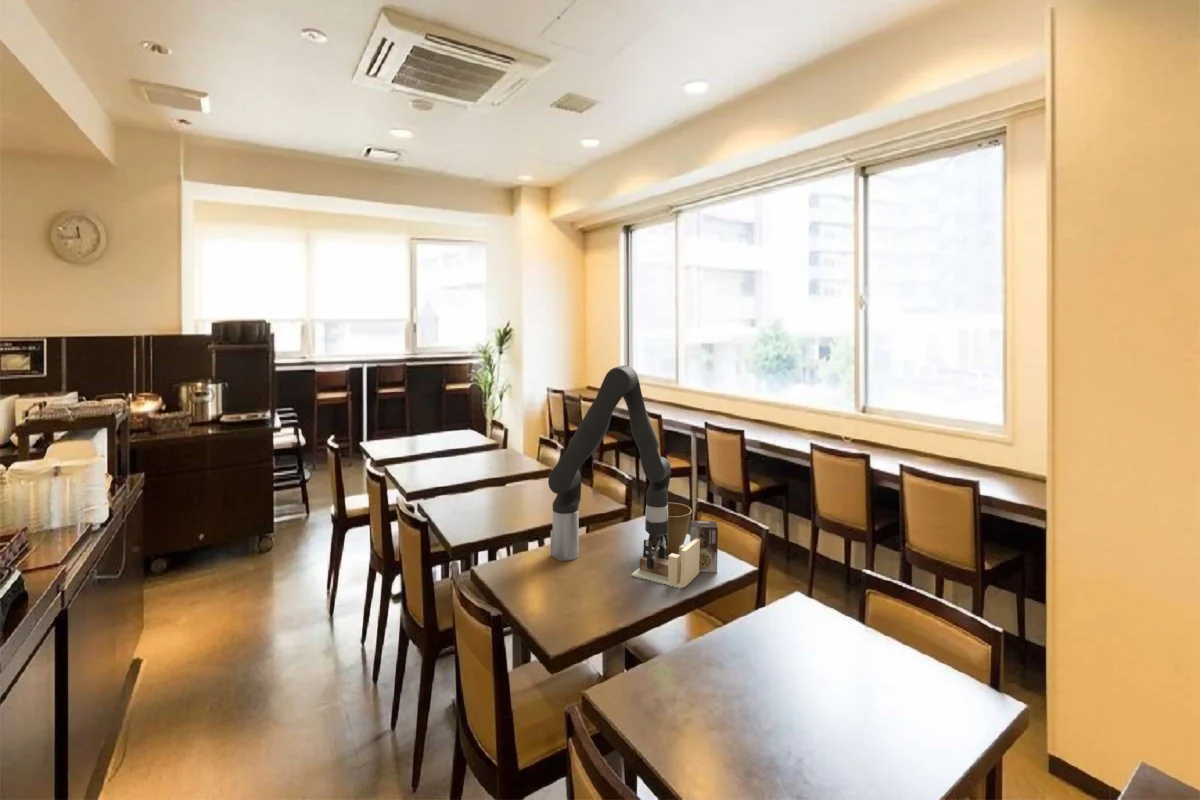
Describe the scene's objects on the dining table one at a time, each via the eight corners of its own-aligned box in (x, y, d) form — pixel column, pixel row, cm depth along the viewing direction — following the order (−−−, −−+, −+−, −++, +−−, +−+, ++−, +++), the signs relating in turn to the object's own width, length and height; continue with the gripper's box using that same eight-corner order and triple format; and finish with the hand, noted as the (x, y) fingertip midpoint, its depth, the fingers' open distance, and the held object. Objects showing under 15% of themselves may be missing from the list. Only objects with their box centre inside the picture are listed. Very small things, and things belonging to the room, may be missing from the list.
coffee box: (715, 565, 207) (717, 520, 205) (717, 573, 201) (718, 527, 199) (689, 564, 208) (690, 519, 206) (689, 572, 202) (691, 526, 200)
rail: (639, 569, 202) (639, 557, 201) (645, 565, 205) (645, 553, 204) (677, 579, 194) (677, 566, 194) (682, 574, 198) (682, 562, 197)
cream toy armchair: (631, 575, 199) (632, 539, 197) (648, 563, 209) (648, 528, 207) (684, 589, 189) (685, 551, 187) (698, 575, 199) (700, 538, 197)
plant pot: (644, 545, 225) (645, 504, 223) (681, 541, 229) (682, 501, 226) (657, 560, 211) (658, 517, 208) (697, 556, 214) (698, 514, 212)
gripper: (656, 509, 206) (655, 554, 208) (636, 521, 194) (635, 569, 196) (676, 513, 202) (674, 558, 204) (657, 526, 190) (656, 574, 192)
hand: (655, 563), depth 200 cm, fingers open, 8 cm apart
